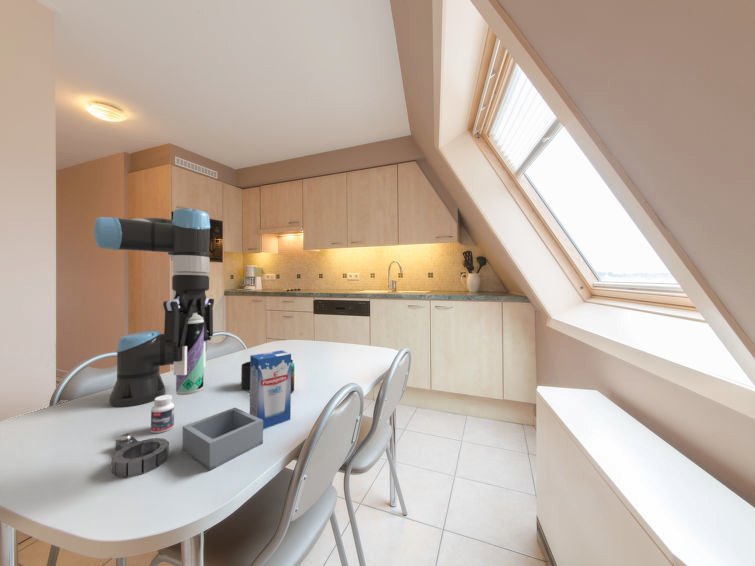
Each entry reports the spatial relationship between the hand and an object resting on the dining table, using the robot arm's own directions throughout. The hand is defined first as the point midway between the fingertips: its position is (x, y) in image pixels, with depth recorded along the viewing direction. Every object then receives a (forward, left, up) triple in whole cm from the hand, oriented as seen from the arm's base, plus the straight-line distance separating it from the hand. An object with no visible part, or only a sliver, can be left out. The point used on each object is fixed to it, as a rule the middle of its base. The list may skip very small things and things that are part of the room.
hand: (190, 370), depth 69 cm
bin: (+4, +6, -20) cm, 21 cm away
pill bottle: (-19, +1, -21) cm, 28 cm away
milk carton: (+2, +21, -21) cm, 30 cm away
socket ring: (-9, -8, -20) cm, 24 cm away
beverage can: (-13, +38, -21) cm, 46 cm away
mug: (-27, +35, -21) cm, 49 cm away
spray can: (0, 0, -5) cm, 5 cm away
